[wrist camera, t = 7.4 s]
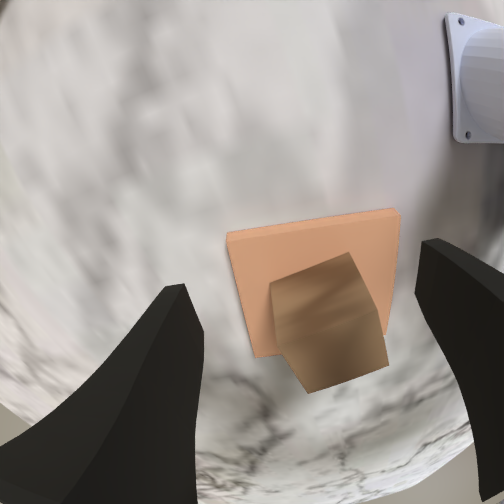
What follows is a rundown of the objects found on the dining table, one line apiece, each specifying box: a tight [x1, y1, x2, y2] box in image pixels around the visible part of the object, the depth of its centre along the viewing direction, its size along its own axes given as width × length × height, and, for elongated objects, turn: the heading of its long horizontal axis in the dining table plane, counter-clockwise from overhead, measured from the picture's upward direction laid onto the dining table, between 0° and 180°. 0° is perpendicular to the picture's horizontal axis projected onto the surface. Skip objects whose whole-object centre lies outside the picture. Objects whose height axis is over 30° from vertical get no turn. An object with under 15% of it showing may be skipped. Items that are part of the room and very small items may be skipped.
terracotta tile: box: [226, 208, 401, 358], centre depth 20 cm, size 10×10×1 cm
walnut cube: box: [270, 252, 389, 394], centre depth 17 cm, size 5×5×5 cm
